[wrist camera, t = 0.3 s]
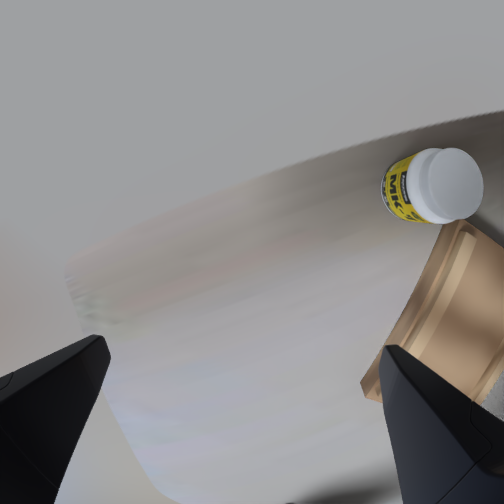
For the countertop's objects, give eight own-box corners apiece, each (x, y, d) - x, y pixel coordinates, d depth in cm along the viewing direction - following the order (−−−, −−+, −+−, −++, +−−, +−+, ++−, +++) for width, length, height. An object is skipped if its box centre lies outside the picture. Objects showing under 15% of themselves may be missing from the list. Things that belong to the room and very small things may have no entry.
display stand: (449, 411, 23) (462, 431, 19) (360, 382, 24) (367, 405, 20) (525, 273, 20) (547, 280, 17) (446, 216, 21) (468, 217, 18)
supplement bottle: (368, 177, 22) (406, 159, 14) (414, 152, 21) (465, 127, 13) (396, 231, 22) (445, 241, 14) (440, 205, 21) (499, 203, 13)
